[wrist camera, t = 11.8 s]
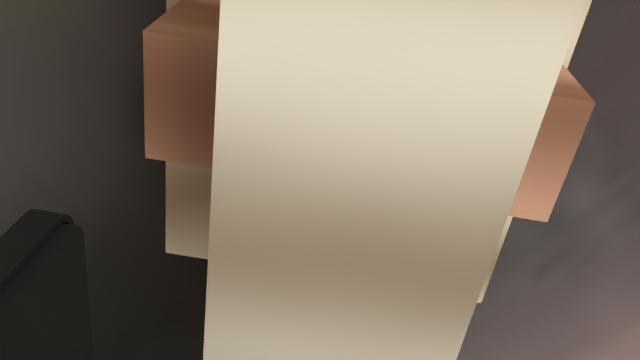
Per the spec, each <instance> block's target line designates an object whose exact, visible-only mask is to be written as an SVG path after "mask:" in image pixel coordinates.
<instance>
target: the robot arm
mask: <svg viewBox="0 0 640 360" xmlns="http://www.w3.org/2000/svg"><path fill="white" fill-rule="evenodd" d="M91 349H92V347H91V333H90V319H89V305H88V292H87V278H86V264H85V250H84V236H83V230H82V228H81V227H80V226H76V225H74V223H73V220H72V218H71V216H69V215H66V214H61V213H55V212H49V211H43V210H37V209H32V210H29V211H28V212H26V213H25V214H24V215H23V216H22V217H21V218H20V219H19V220H18V221H17V222H16V223H15V224H14V225H13V226H12V227H11V228H10V229H9V230H8V231H7V232H6V233H4V234H3V235H2V236H1V237H0V360H90V358H91Z"/></svg>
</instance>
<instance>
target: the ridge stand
mask: <svg viewBox="0 0 640 360" xmlns="http://www.w3.org/2000/svg"><path fill="white" fill-rule="evenodd" d="M591 2H592V0H586V1H585V4H584V6H583V9H582V12H581V15H580V17H579V20H578V23H577V26H576V28H575V31H574V34H573V37H572V40H571V42H570V45H569V48H568V51H567V53H566V56H565V59H564V62H563V65H562V67H561V70H560V73H559V76H558V78H557V81H556V84H555V87H554V90H553V92H552V95H551V98H550V101H549V103H548V106H547V109H546V112H545V115H544V117H543V120H542V123H541V126H540V128H539V131H538V134H537V137H536V140H535V142H534V145H533V148H532V151H531V153H530V156H529V159H528V162H527V164H526V167H525V170H524V173H523V176H522V178H521V181H520V184H519V187H518V189H517V192H516V195H515V198H514V201H513V203H512V206H511V209H510V212H509V214H508V217H507V220H506V223H505V226H504V228H503V231H502V234H501V237H500V239H499V242H498V245H497V248H496V251H495V253H494V256H493V259H492V262H491V264H490V267H489V270H488V273H487V276H486V278H485V281H484V284H483V287H482V289H481V292H480V295H479V298H478V300H477V303H481V302H482V299H483V296H484V294H485V291H486V288H487V285H488V283H489V280H490V277H491V275H492V272H493V269H494V266H495V264H496V261H497V258H498V255H499V253H500V250H501V247H502V245H503V242H504V239H505V236H506V234H507V231H508V228H509V225H510V223H511V220H512V217H519V218H525V219H531V220H537V221H544V222H548V219H549V217H550V214H551V212H552V209H553V207H554V204H555V202H556V199H557V197H558V194H559V192H560V189H561V187H562V184H563V182H564V180H565V177H566V175H567V172H568V170H569V167H570V165H571V162H572V160H573V157H574V155H575V152H576V150H577V147H578V145H579V143H580V140H581V138H582V135H583V133H584V130H585V128H586V125H587V123H588V120H589V118H590V115H591V113H592V110H593V108H594V105H595V101H594V100H593V99H592V98H591V97H590V96H589V94H588V93H587V92H586V91H585V90H584V89H583V87H582V86H581V85H580V84H579V83H578V82H577V80H576V79H575V78H574V77H573V76H572V75H571V74H570V72H569V71H568V70H567V67H568V64H569V62H570V59H571V56H572V54H573V51H574V48H575V45H576V43H577V40H578V37H579V34H580V32H581V29H582V26H583V24H584V21H585V18H586V15H587V13H588V10H589V7H590V4H591ZM219 19H220V0H166V13H164V14H163V15H162V16H161V17H159V18H158V19H157V20H156V21H154V22H153V23H152V24H151V25H149V26H148V27H147V28H145V29H144V30H143V67H144V123H145V158H149V159H156V160H162V161H166V253H171V254H177V255H184V256H190V257H196V258H202V259H208V248H209V227H210V206H211V185H212V165H213V144H214V123H215V102H216V82H217V61H218V40H219Z"/></svg>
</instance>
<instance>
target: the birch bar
mask: <svg viewBox="0 0 640 360" xmlns="http://www.w3.org/2000/svg"><path fill="white" fill-rule="evenodd" d="M585 1H586V0H220V19H219V40H218V61H217V82H216V102H215V123H214V144H213V165H212V185H211V206H210V227H209V248H208V269H207V289H206V310H205V331H204V352H203V360H456V359H457V356H458V353H459V350H460V348H461V345H462V342H463V339H464V337H465V334H466V331H467V328H468V325H469V323H470V320H471V317H472V314H473V312H474V309H475V306H476V303H477V300H478V298H479V295H480V292H481V289H482V287H483V284H484V281H485V278H486V276H487V273H488V270H489V267H490V264H491V262H492V259H493V256H494V253H495V251H496V248H497V245H498V242H499V239H500V237H501V234H502V231H503V228H504V226H505V223H506V220H507V217H508V214H509V212H510V209H511V206H512V203H513V201H514V198H515V195H516V192H517V189H518V187H519V184H520V181H521V178H522V176H523V173H524V170H525V167H526V164H527V162H528V159H529V156H530V153H531V151H532V148H533V145H534V142H535V140H536V137H537V134H538V131H539V128H540V126H541V123H542V120H543V117H544V115H545V112H546V109H547V106H548V103H549V101H550V98H551V95H552V92H553V90H554V87H555V84H556V81H557V78H558V76H559V73H560V70H561V67H562V65H563V62H564V59H565V56H566V53H567V51H568V48H569V45H570V42H571V40H572V37H573V34H574V31H575V28H576V26H577V23H578V20H579V17H580V15H581V12H582V9H583V6H584V4H585Z"/></svg>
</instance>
